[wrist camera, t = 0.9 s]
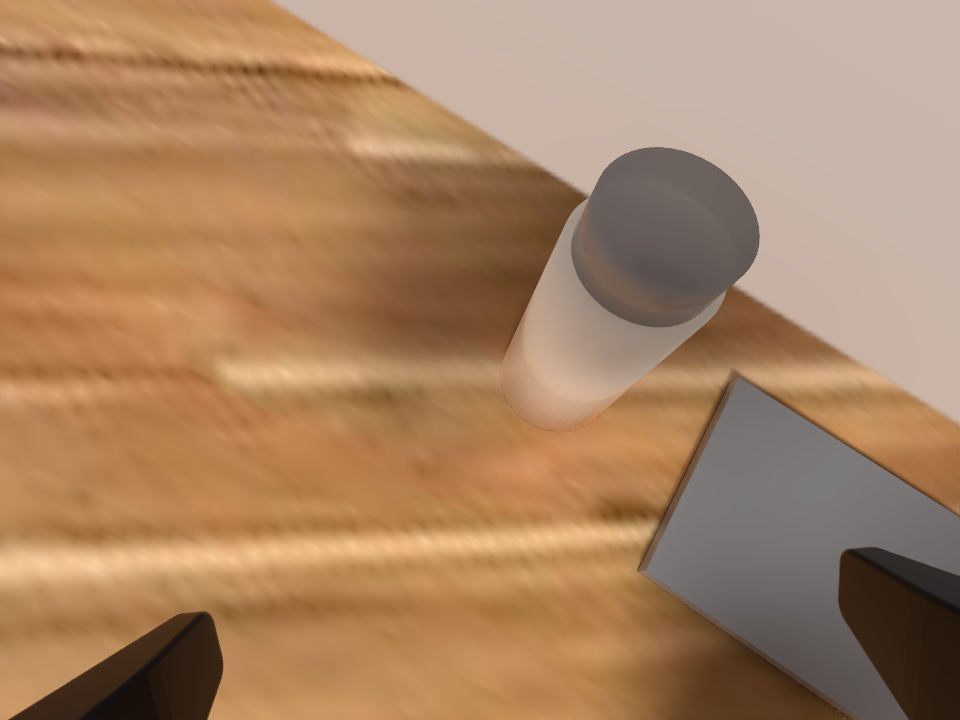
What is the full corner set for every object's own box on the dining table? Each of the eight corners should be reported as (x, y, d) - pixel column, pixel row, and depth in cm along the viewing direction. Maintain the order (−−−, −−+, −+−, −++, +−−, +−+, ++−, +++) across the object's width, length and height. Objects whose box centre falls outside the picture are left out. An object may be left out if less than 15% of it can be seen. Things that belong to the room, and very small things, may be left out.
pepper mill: (625, 413, 25) (805, 276, 14) (523, 446, 24) (632, 324, 13) (582, 317, 26) (714, 126, 15) (485, 343, 25) (552, 155, 14)
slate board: (1044, 584, 24) (1064, 583, 24) (1004, 824, 21) (1026, 833, 20) (729, 383, 26) (739, 377, 25) (637, 571, 22) (645, 570, 22)
